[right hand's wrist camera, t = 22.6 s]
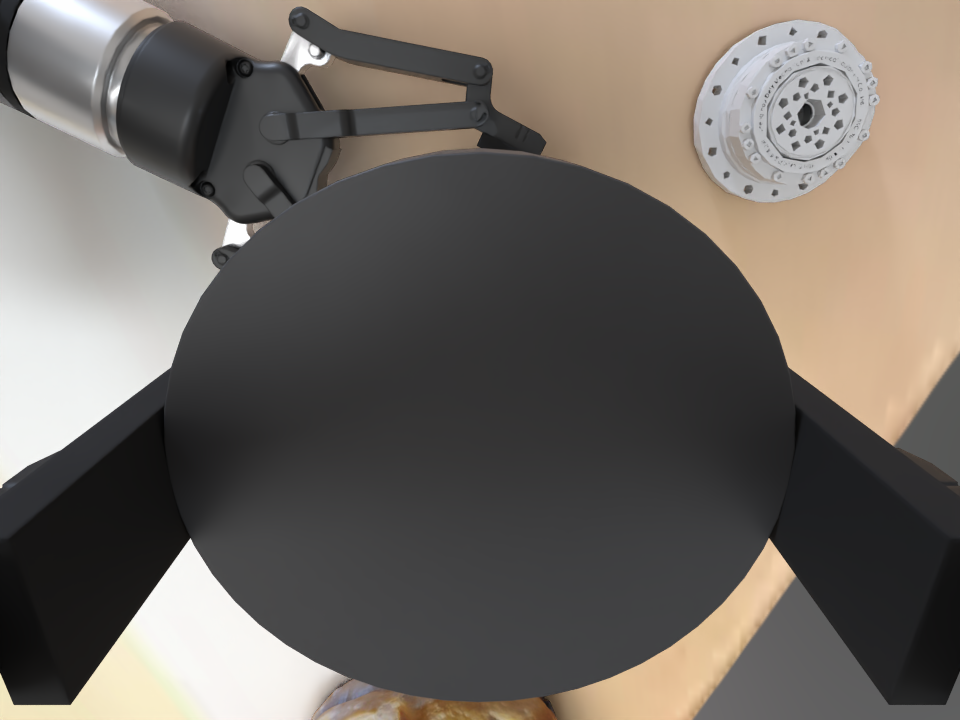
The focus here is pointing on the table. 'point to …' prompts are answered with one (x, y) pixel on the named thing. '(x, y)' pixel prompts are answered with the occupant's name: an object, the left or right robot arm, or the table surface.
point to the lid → (479, 426)
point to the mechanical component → (784, 111)
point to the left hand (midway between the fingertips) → (541, 282)
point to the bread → (422, 707)
